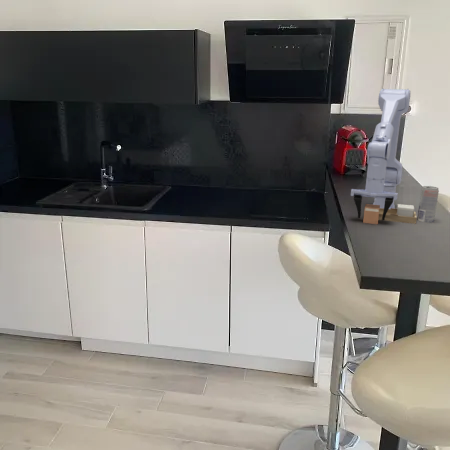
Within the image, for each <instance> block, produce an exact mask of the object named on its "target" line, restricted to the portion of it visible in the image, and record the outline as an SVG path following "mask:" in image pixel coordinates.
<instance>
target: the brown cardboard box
mask: <svg viewBox="0 0 450 450" xmlns="http://www.w3.org/2000/svg"><path fill="white" fill-rule="evenodd" d="M379 210H380V205H373V203H372V204H370V203H366V204H365V206H364V211H363V220H362V221H363V222H362V223H363V224H373V225H378V224H379V220H378V218H379Z"/></svg>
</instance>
